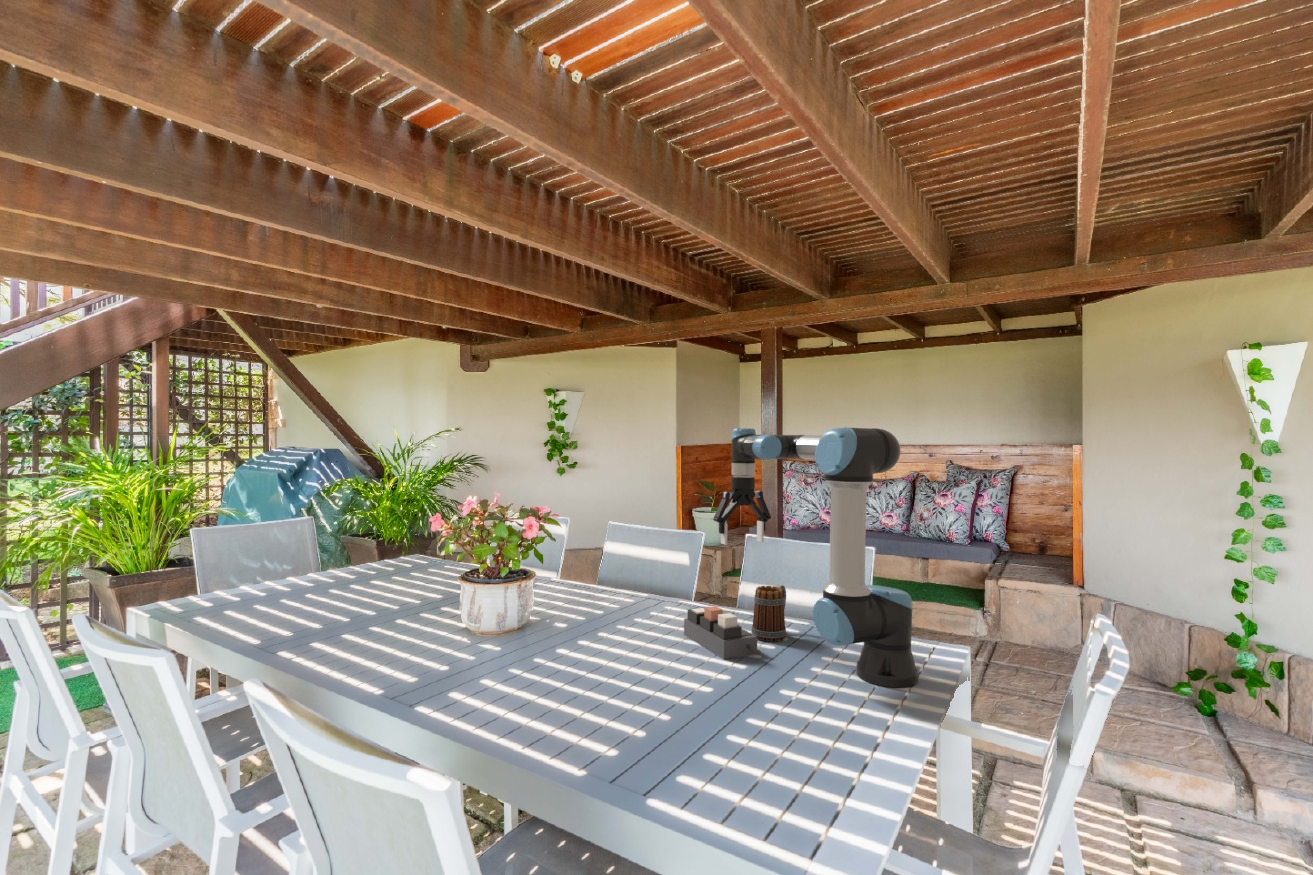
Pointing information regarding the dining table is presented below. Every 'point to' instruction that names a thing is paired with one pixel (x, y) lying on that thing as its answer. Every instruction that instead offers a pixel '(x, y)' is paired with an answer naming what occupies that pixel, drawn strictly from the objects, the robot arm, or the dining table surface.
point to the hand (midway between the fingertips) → (742, 542)
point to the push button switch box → (720, 637)
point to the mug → (769, 613)
